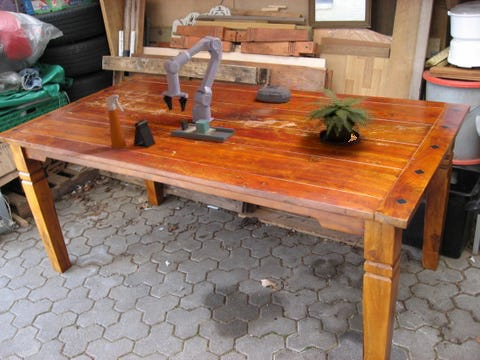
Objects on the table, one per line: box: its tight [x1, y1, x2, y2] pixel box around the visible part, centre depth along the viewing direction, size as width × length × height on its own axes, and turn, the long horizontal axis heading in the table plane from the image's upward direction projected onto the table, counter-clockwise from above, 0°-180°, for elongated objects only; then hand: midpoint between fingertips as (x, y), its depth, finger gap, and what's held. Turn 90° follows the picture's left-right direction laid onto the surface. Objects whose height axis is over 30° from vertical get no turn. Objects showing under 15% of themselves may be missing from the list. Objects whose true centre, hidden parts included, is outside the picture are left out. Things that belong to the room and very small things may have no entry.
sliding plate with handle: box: [180, 118, 216, 135], centre depth 226 cm, size 17×9×5 cm, turn 64°
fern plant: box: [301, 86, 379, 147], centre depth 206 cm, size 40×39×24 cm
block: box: [194, 119, 210, 133], centre depth 225 cm, size 5×5×5 cm
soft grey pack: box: [256, 84, 292, 104], centre depth 269 cm, size 15×8×20 cm
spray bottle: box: [104, 94, 128, 150], centre depth 213 cm, size 7×11×26 cm, turn 58°
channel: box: [170, 123, 235, 143], centre depth 226 cm, size 30×12×2 cm, turn 65°
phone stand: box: [133, 118, 156, 149], centre depth 217 cm, size 9×6×12 cm, turn 59°
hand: (177, 110), depth 233 cm, fingers open, 7 cm apart
